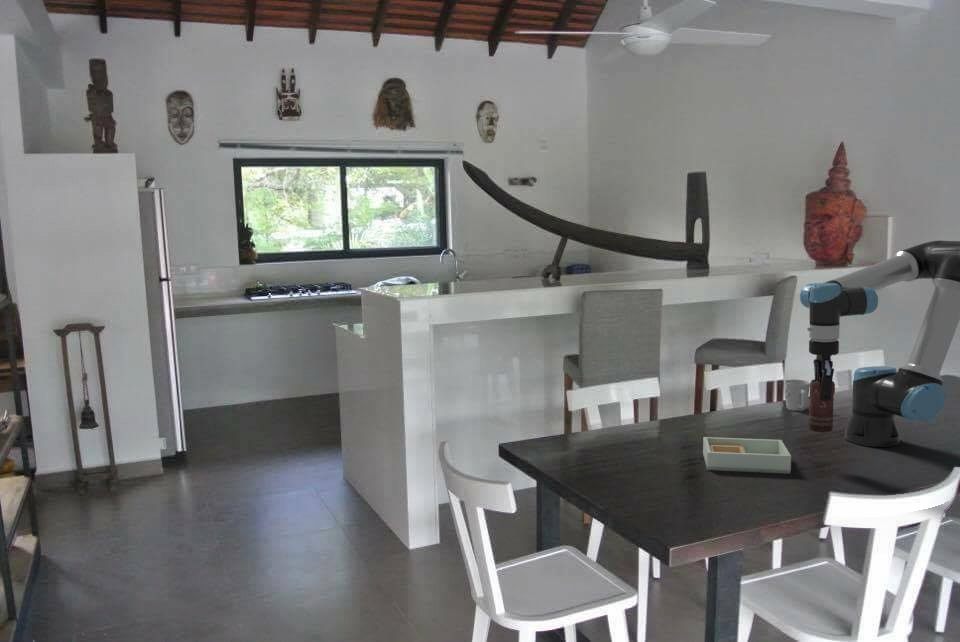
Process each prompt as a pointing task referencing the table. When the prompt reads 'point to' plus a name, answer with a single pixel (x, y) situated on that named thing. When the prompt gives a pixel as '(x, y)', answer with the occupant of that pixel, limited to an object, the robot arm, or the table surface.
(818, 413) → the can
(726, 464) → the walled box
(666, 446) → the table surface
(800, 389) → the mug
